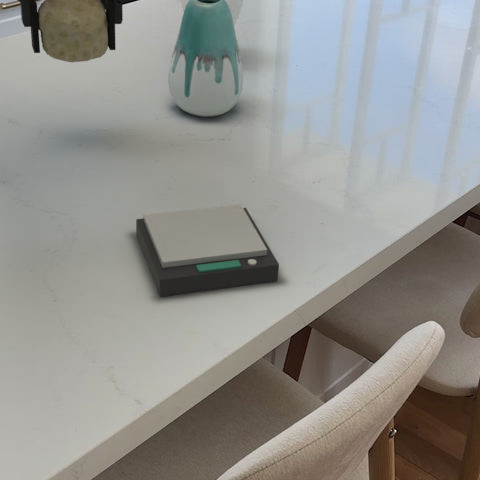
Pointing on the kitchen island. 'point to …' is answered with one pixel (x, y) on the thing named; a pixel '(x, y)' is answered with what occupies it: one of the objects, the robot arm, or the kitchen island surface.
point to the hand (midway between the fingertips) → (73, 47)
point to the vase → (206, 60)
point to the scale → (205, 250)
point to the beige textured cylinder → (73, 29)
